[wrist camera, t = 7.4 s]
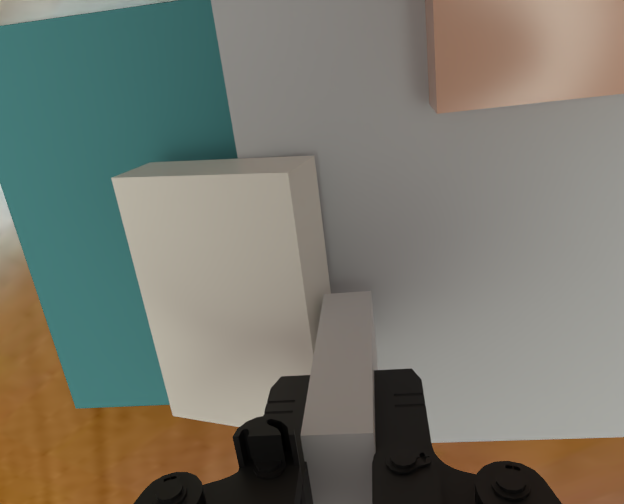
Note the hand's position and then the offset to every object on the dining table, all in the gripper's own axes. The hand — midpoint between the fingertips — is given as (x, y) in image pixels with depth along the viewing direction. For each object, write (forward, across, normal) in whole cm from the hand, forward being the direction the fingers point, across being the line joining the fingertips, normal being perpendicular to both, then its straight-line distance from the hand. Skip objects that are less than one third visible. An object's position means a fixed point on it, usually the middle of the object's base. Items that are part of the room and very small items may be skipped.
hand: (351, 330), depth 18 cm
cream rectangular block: (+2, -4, +1) cm, 4 cm away
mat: (+6, -9, +2) cm, 10 cm away
